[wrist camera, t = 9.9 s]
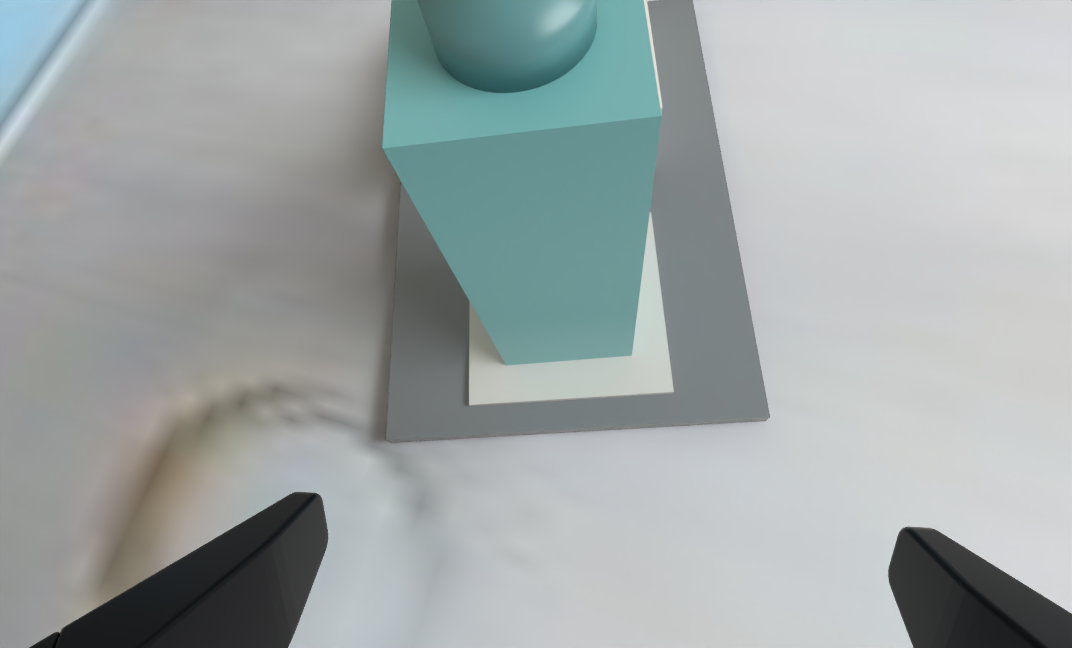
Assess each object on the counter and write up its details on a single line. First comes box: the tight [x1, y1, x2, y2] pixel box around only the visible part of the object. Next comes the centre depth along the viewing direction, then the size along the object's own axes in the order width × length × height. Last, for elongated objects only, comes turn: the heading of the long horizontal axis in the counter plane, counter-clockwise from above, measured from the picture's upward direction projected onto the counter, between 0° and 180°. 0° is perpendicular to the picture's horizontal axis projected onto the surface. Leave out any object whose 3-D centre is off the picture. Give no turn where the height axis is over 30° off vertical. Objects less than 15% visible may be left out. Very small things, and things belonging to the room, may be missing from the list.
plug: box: [382, 0, 662, 365], centre depth 15 cm, size 4×4×13 cm
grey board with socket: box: [386, 0, 770, 443], centre depth 22 cm, size 19×13×4 cm
